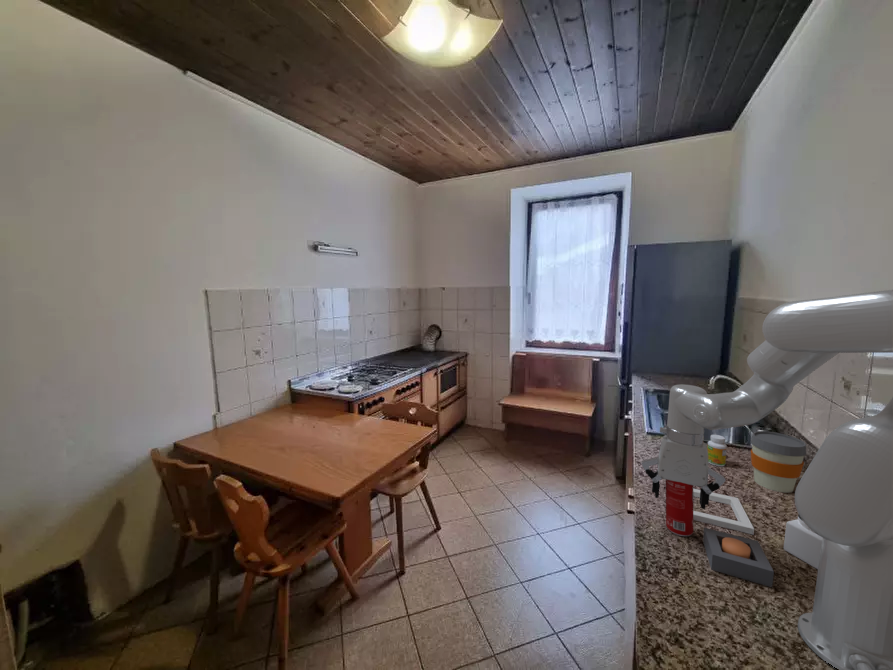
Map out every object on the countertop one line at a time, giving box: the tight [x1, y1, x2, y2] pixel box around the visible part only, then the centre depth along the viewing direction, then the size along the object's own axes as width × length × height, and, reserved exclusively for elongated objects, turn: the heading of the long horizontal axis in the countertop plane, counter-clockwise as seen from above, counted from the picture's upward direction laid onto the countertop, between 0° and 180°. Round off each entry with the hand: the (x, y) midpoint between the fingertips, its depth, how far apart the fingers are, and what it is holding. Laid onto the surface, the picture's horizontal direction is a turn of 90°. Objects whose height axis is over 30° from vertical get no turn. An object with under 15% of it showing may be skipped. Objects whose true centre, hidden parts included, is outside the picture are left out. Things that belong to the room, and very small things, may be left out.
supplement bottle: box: [706, 434, 728, 467], centre depth 122 cm, size 5×5×10 cm
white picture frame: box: [693, 488, 755, 535], centre depth 96 cm, size 15×15×2 cm
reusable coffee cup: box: [750, 430, 807, 494], centre depth 108 cm, size 13×13×15 cm
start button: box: [722, 537, 751, 559], centre depth 77 cm, size 5×5×2 cm
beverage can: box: [665, 479, 694, 537], centre depth 87 cm, size 6×6×15 cm
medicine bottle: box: [783, 514, 823, 570], centre depth 78 cm, size 7×7×12 cm
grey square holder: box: [702, 527, 775, 588], centre depth 77 cm, size 10×10×4 cm
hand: (678, 500), depth 88 cm, fingers open, 9 cm apart
